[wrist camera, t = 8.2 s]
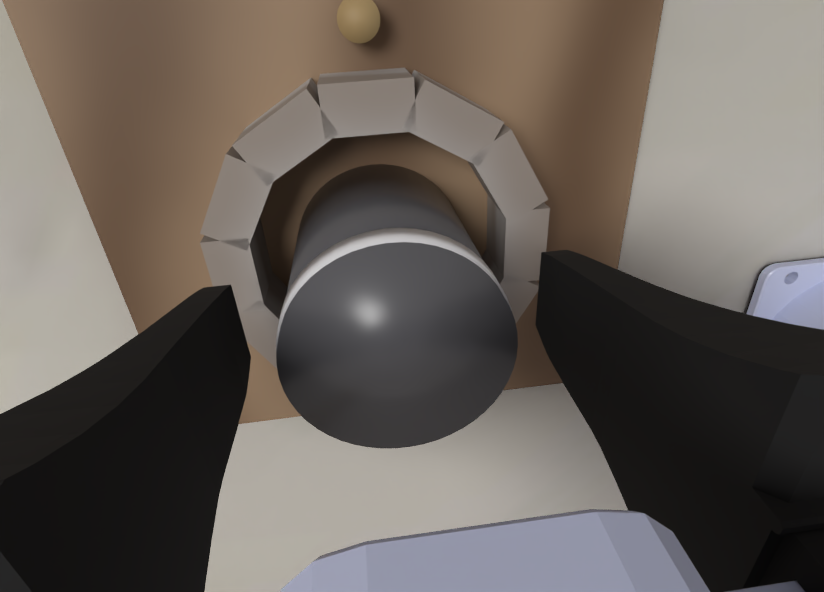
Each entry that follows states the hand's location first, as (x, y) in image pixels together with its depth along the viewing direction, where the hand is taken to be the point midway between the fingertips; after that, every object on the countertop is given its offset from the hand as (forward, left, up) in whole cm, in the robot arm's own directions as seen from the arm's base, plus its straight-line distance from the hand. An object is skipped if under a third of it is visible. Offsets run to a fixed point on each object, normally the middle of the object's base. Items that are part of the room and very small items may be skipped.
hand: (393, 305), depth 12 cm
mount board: (0, 0, -5) cm, 5 cm away
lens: (0, 0, -4) cm, 4 cm away
